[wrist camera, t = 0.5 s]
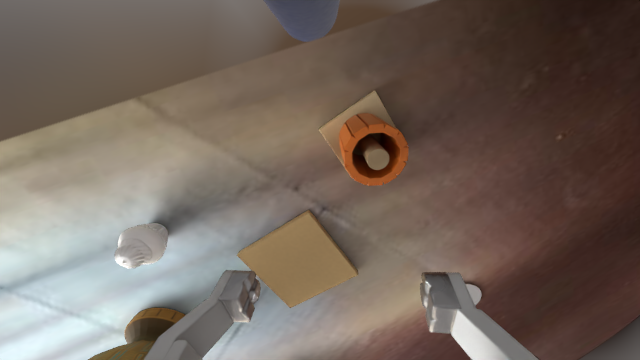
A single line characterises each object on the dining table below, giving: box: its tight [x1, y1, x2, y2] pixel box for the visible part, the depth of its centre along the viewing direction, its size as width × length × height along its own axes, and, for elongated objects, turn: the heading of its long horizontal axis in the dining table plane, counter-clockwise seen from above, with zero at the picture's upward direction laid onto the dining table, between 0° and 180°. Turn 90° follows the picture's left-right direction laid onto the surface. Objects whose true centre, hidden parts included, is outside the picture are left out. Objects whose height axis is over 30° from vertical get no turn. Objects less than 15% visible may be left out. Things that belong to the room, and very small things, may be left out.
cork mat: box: [237, 210, 358, 308], centre depth 38 cm, size 14×14×1 cm
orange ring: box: [339, 113, 409, 186], centre depth 26 cm, size 6×6×8 cm
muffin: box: [115, 223, 168, 269], centre depth 33 cm, size 6×6×7 cm
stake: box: [319, 91, 396, 170], centre depth 26 cm, size 8×8×10 cm
